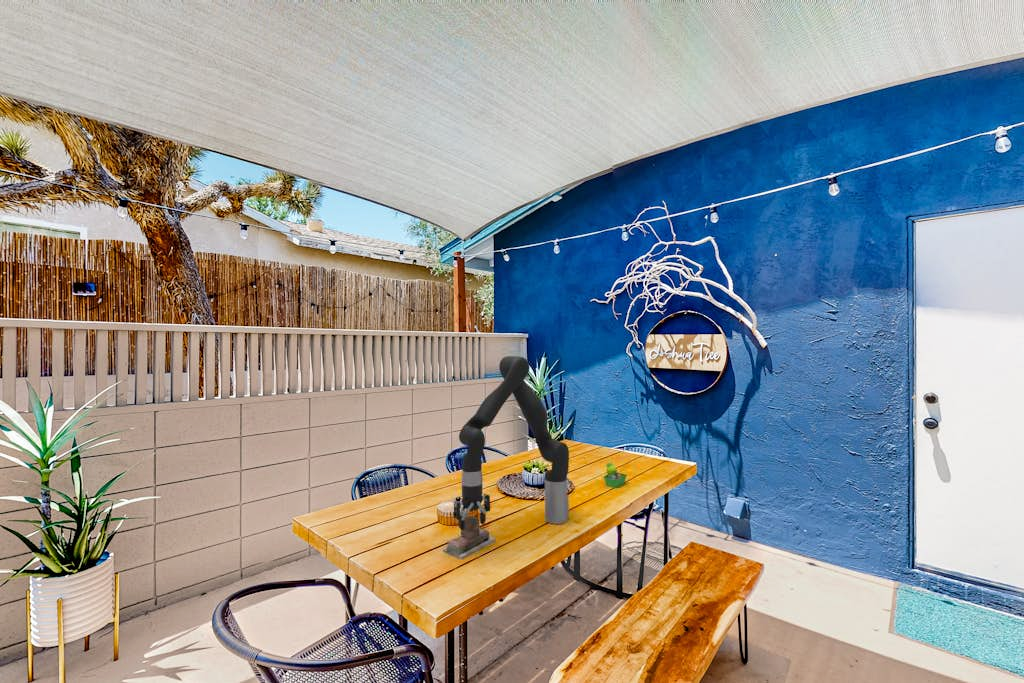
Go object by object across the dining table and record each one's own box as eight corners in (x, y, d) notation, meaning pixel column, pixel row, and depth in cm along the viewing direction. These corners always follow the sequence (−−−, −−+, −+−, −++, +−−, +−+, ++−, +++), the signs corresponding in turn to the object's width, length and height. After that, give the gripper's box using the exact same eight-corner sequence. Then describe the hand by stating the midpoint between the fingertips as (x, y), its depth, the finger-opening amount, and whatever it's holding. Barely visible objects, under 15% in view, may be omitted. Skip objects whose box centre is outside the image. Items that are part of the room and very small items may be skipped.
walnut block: (472, 531, 161) (472, 515, 161) (479, 535, 157) (479, 519, 157) (460, 534, 158) (460, 518, 158) (467, 539, 154) (467, 522, 154)
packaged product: (461, 547, 148) (442, 539, 155) (461, 561, 148) (442, 553, 155) (496, 529, 162) (477, 523, 169) (496, 542, 162) (477, 535, 168)
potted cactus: (615, 489, 219) (615, 467, 219) (600, 485, 225) (600, 463, 225) (627, 484, 226) (627, 463, 227) (613, 480, 233) (613, 459, 233)
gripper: (483, 476, 164) (483, 518, 164) (449, 483, 156) (450, 528, 156) (494, 480, 158) (494, 525, 158) (460, 488, 150) (460, 535, 150)
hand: (472, 526), depth 157 cm, fingers open, 8 cm apart
